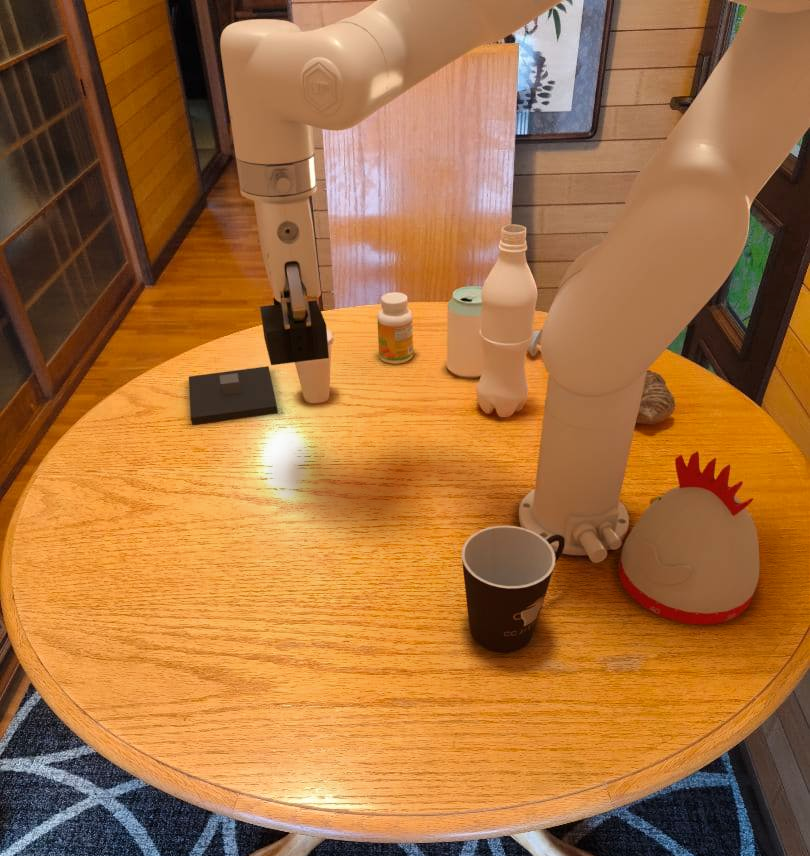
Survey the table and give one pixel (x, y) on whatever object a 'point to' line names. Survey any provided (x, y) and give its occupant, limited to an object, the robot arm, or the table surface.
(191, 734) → the table surface
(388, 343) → the supplement bottle
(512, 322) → the water bottle
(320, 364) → the smoothie
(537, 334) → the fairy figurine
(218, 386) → the base pad
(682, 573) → the kitchen timer
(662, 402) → the seashell
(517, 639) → the coffee mug
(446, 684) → the table surface
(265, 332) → the top pad
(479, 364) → the can
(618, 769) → the table surface
